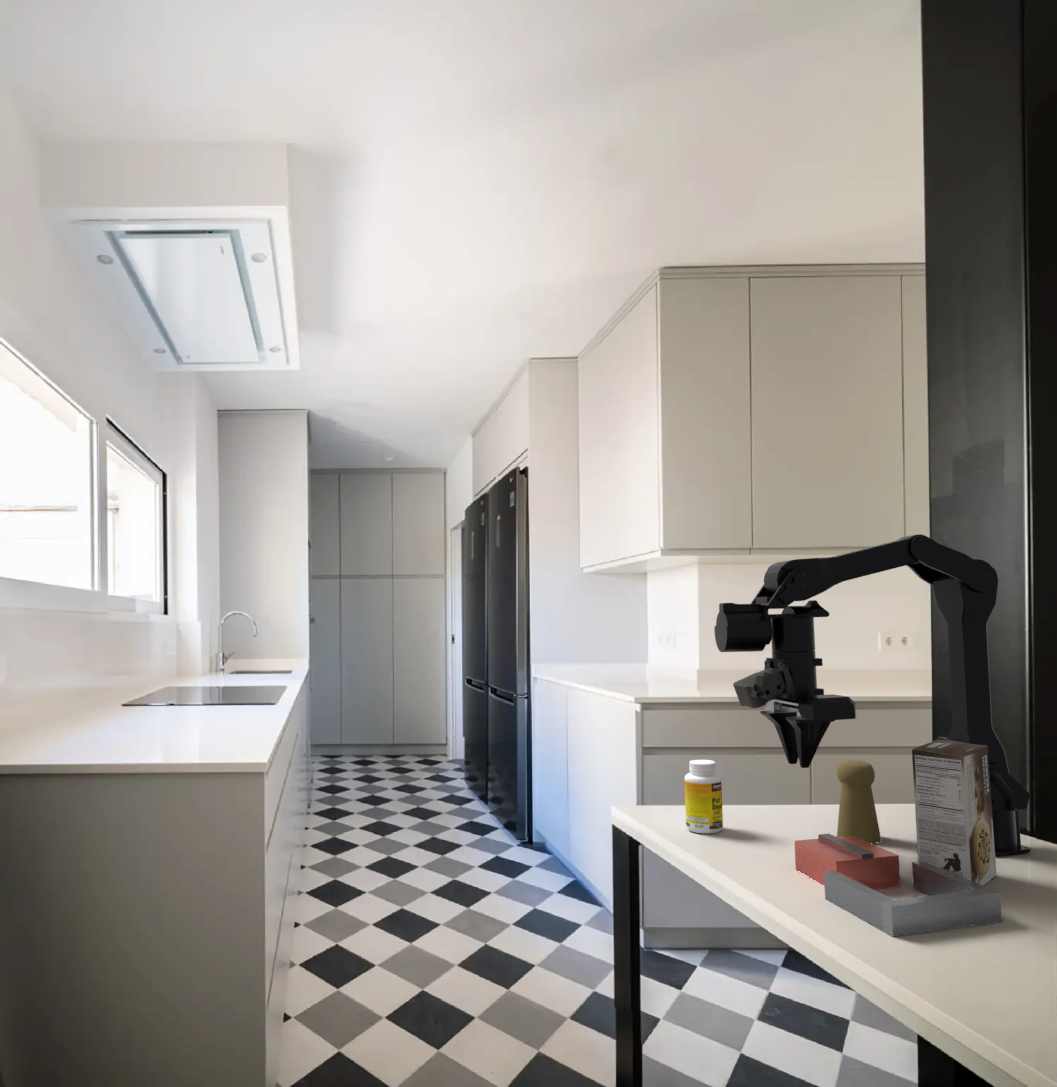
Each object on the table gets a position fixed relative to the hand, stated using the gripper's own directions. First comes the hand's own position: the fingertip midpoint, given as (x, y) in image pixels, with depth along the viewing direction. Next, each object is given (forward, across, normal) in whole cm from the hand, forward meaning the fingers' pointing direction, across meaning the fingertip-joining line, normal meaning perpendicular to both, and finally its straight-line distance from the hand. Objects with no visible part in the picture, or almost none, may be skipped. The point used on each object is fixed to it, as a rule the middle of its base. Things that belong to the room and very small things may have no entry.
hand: (798, 765), depth 111 cm
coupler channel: (+12, +20, 0) cm, 23 cm away
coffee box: (+12, +14, +12) cm, 22 cm away
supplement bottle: (+12, -16, -6) cm, 21 cm away
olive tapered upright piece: (+12, -5, +12) cm, 18 cm away
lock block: (+12, +10, 0) cm, 16 cm away
